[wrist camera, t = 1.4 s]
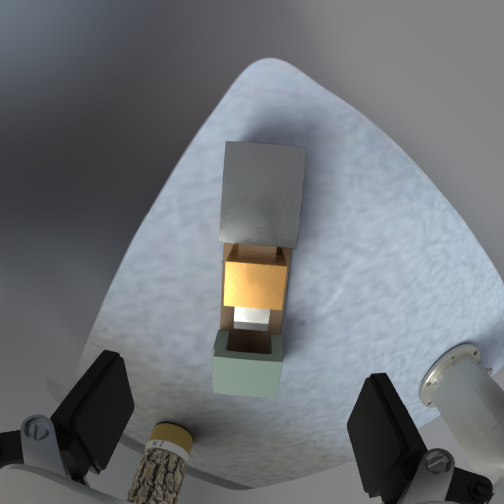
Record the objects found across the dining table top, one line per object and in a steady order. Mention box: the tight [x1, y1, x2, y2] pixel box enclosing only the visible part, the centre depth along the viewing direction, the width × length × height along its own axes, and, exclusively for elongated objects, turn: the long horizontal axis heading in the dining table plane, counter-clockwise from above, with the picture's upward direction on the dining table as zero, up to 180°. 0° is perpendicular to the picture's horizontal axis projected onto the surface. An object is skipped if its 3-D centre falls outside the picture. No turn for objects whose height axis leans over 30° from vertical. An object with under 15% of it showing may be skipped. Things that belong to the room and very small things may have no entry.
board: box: [220, 242, 291, 354], centre depth 28 cm, size 7×24×1 cm, turn 176°
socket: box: [213, 330, 284, 398], centre depth 28 cm, size 7×5×5 cm
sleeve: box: [219, 141, 306, 248], centre depth 23 cm, size 6×8×5 cm
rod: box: [224, 243, 287, 331], centre depth 23 cm, size 4×15×7 cm, turn 176°
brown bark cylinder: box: [125, 423, 193, 504], centre depth 25 cm, size 7×7×25 cm
